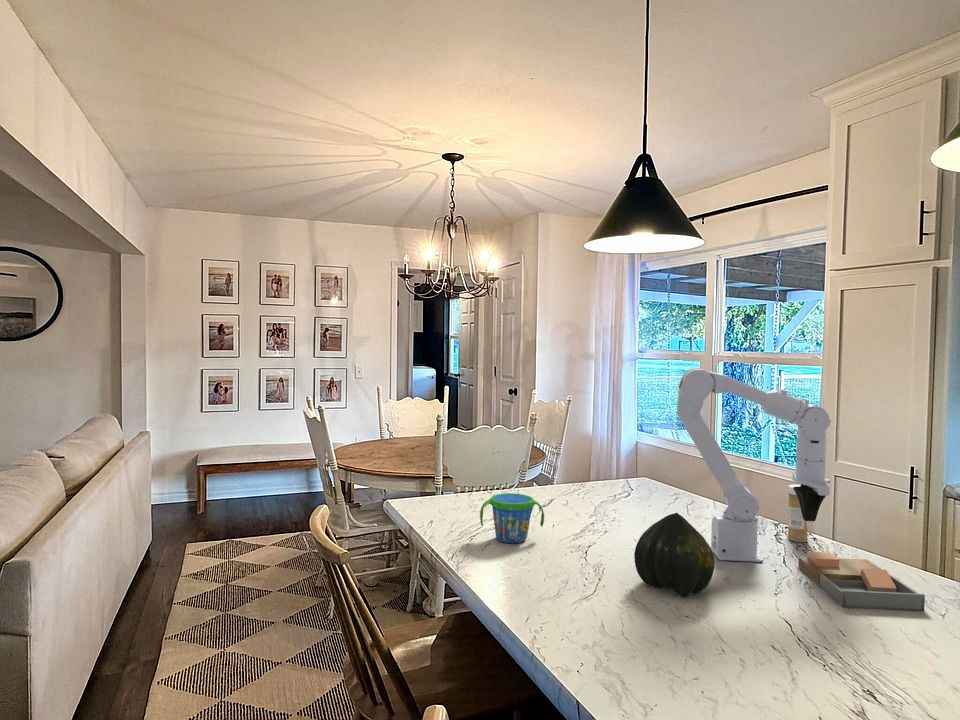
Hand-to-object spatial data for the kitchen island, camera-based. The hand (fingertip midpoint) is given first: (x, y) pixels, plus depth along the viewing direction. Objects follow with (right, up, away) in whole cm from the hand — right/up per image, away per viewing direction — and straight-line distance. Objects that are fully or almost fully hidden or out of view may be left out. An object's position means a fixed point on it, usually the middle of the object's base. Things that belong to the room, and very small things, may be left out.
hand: (809, 520), depth 140 cm
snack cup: (-65, -8, +14) cm, 67 cm away
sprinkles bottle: (+5, -9, +16) cm, 19 cm away
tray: (+2, -10, -19) cm, 22 cm away
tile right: (+5, -8, -16) cm, 19 cm away
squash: (-35, -10, -15) cm, 39 cm away
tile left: (-1, -7, -7) cm, 10 cm away
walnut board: (+3, -10, -9) cm, 13 cm away
